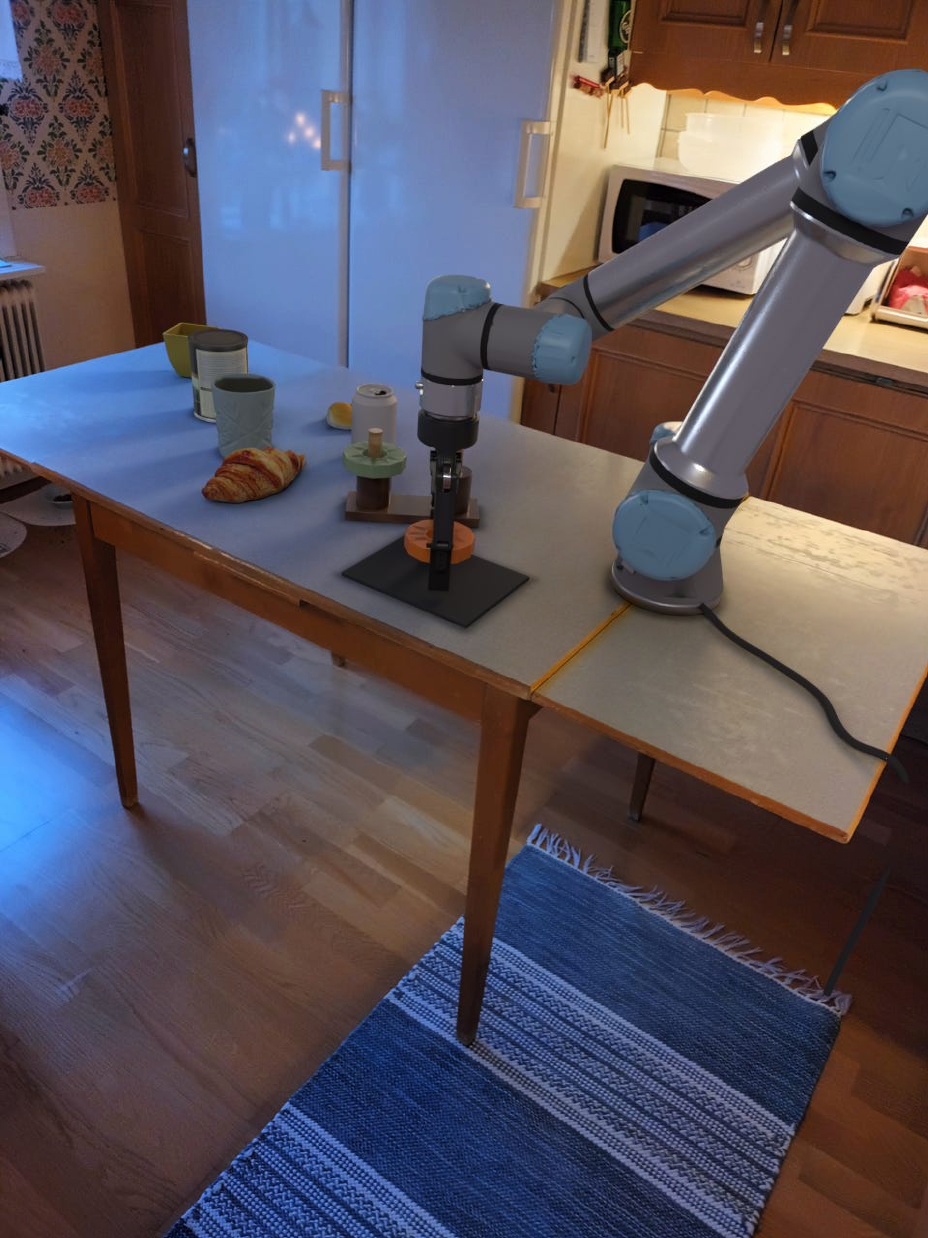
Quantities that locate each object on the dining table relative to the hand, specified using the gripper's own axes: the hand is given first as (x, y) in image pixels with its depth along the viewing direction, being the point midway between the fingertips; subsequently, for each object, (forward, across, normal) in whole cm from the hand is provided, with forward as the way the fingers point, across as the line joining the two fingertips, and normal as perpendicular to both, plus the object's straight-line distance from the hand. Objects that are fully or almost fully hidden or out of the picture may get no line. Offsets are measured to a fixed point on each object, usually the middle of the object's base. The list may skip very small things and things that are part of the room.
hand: (437, 570), depth 124 cm
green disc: (-6, -19, -10) cm, 22 cm away
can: (+1, -40, -11) cm, 42 cm away
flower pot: (+1, -76, -48) cm, 90 cm away
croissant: (+1, -25, -28) cm, 37 cm away
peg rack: (+1, -19, -4) cm, 20 cm away
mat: (+1, 0, 0) cm, 1 cm away
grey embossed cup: (+1, -39, -32) cm, 50 cm away
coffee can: (+1, -56, -39) cm, 68 cm away
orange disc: (-3, 0, 0) cm, 3 cm away
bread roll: (+1, -55, -16) cm, 57 cm away
